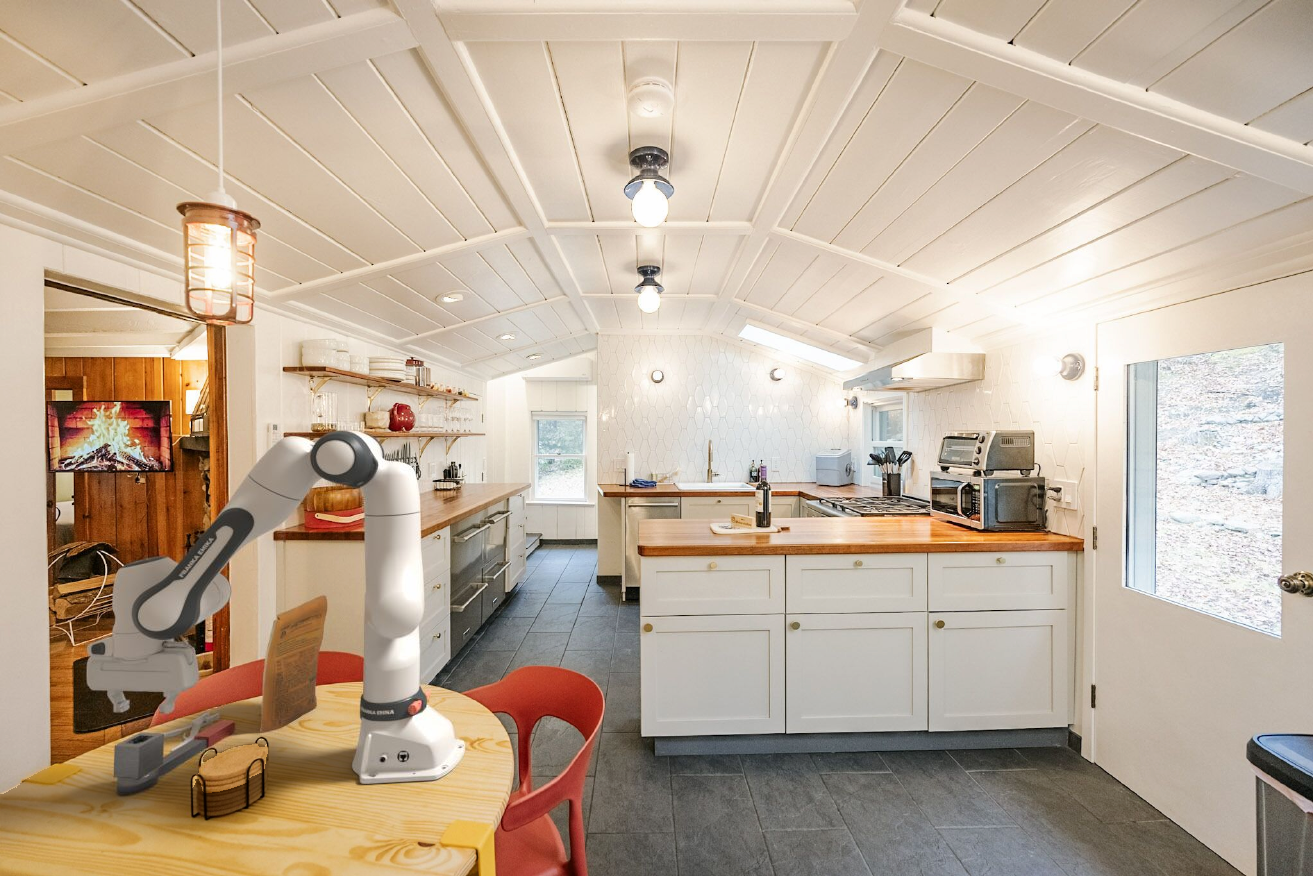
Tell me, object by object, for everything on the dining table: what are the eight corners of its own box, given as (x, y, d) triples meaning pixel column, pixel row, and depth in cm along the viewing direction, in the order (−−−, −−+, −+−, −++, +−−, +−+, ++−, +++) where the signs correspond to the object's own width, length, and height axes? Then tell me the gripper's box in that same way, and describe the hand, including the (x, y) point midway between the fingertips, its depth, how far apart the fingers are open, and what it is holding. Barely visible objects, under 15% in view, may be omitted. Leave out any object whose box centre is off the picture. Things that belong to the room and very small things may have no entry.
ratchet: (239, 732, 129) (241, 697, 129) (136, 796, 105) (138, 753, 105) (215, 730, 129) (216, 696, 130) (107, 794, 106) (108, 752, 106)
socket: (162, 764, 111) (164, 733, 111) (137, 778, 106) (139, 747, 106) (139, 762, 111) (140, 732, 111) (113, 777, 106) (114, 745, 106)
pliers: (132, 743, 121) (195, 710, 136) (132, 750, 121) (195, 717, 136) (173, 746, 120) (232, 713, 135) (173, 753, 120) (232, 720, 135)
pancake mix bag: (334, 701, 145) (337, 594, 146) (271, 738, 127) (275, 615, 127) (312, 698, 147) (315, 592, 147) (246, 735, 128) (250, 613, 128)
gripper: (207, 636, 111) (208, 705, 111) (112, 634, 113) (112, 702, 113) (178, 648, 105) (178, 721, 105) (78, 646, 106) (78, 718, 106)
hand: (144, 711), depth 109 cm, fingers open, 8 cm apart
